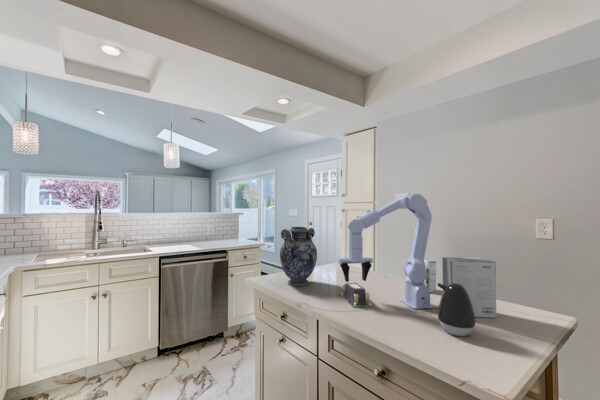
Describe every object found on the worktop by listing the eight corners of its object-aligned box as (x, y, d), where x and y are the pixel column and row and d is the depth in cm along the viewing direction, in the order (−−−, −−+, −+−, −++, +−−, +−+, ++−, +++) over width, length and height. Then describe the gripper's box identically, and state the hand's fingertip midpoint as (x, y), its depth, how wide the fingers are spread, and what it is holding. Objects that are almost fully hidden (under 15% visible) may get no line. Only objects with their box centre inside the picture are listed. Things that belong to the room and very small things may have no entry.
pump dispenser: (441, 321, 92) (441, 277, 92) (477, 331, 86) (477, 283, 86) (433, 332, 84) (433, 283, 84) (472, 344, 78) (472, 291, 78)
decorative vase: (302, 275, 149) (303, 224, 149) (326, 284, 135) (327, 227, 135) (269, 282, 136) (270, 227, 135) (292, 293, 121) (293, 230, 121)
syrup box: (417, 289, 127) (417, 258, 127) (426, 287, 130) (426, 257, 130) (427, 293, 122) (427, 260, 122) (436, 291, 124) (436, 259, 125)
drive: (365, 301, 109) (365, 289, 109) (353, 302, 108) (353, 289, 108) (356, 294, 117) (356, 282, 117) (345, 295, 116) (345, 283, 116)
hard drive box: (484, 310, 103) (484, 257, 103) (497, 318, 95) (497, 261, 95) (441, 308, 104) (442, 256, 105) (451, 316, 97) (451, 260, 97)
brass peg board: (373, 306, 105) (373, 294, 105) (353, 308, 104) (353, 296, 104) (356, 293, 121) (356, 282, 121) (339, 294, 119) (339, 283, 119)
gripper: (367, 246, 118) (367, 277, 118) (335, 247, 115) (335, 279, 115) (375, 248, 111) (375, 281, 111) (341, 249, 108) (341, 283, 108)
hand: (355, 280), depth 112 cm, fingers open, 7 cm apart
